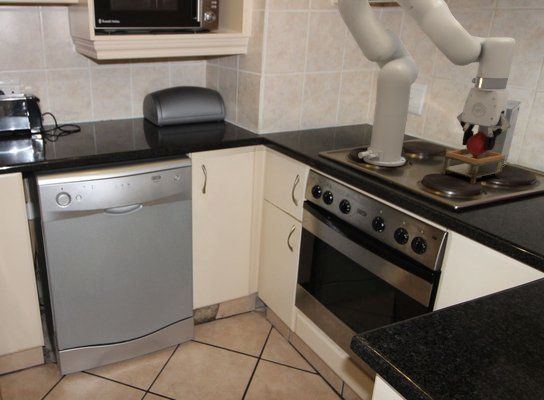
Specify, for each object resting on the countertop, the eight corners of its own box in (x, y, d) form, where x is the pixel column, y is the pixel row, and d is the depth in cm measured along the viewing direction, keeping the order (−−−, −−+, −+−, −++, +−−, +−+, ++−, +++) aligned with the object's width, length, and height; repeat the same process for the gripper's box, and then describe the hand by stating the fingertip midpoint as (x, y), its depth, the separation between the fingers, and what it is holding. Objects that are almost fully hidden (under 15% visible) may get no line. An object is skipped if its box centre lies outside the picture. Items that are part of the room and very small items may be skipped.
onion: (491, 159, 138) (498, 131, 135) (473, 159, 137) (480, 132, 134) (476, 153, 143) (483, 127, 140) (459, 154, 142) (465, 127, 139)
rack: (473, 184, 135) (478, 160, 133) (442, 174, 144) (446, 151, 141) (500, 178, 140) (505, 154, 137) (468, 169, 148) (473, 147, 146)
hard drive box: (479, 159, 157) (493, 98, 150) (506, 164, 152) (522, 101, 145) (468, 170, 146) (482, 105, 139) (496, 175, 141) (513, 108, 134)
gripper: (453, 81, 138) (442, 142, 145) (513, 88, 123) (497, 156, 130) (470, 79, 141) (458, 139, 147) (531, 86, 126) (515, 152, 133)
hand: (477, 146), depth 139 cm, fingers closed on onion, 5 cm apart
